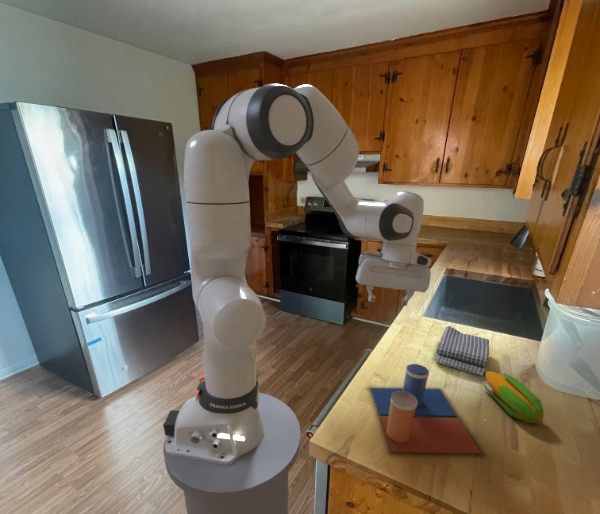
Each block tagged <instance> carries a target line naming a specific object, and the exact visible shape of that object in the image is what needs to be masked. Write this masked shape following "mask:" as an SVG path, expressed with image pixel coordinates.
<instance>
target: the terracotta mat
mask: <svg viewBox="0 0 600 514" xmlns="http://www.w3.org/2000/svg"><path fill="white" fill-rule="evenodd" d="M380 422H381V425H382V427H383V431H384V434H385V438H386V440H387V443H388V447H389V448H390V452H391V453H393V454H394V453H396V454H397V453H398V454H400V453H401V454H448V455H449V454H452V455H453V454H455V455H459V454H460V455H481V454H482V453H481V451H480V449H479V448H478V446H477V445H476V443H475V442H474V440H473V439H472V437H471V436H470V434H469V432H468V431H467V430H466V428H465V426H464V425H463V423H462V422H461V420H460V419H459V418H453V417H450V418H446V417H443V418H442V417H414V421H413V426H412V431H411V437H410V439H409V440H408V441H406V442H396V441H394V440H392V439H391V438H390V437H389V436H388V435H387V433H386V429H387V422H388V417H387V416H380Z"/></svg>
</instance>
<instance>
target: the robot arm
mask: <svg viewBox="0 0 600 514" xmlns="http://www.w3.org/2000/svg"><path fill="white" fill-rule="evenodd" d="M294 154H296V155H297V157H298V158H299V159H300V160H301V162H302V163H303V164H304V165H305V166H306V168H307V169H308V171H309V172H310V173H311V178H312V181H313V183H314V185H315V186H316V188H317V190H318V191H319V193H320V194H321V195H322V197H323V198H324V200H325V201H326V202H327V204H328V205H329V207H330V208H331V210H332V211H333V212H334V214H335V216H336V219H337V221H338V224H339V227H340V229H341V231H342V233H343V234H344V235H345V236H347V237H348V238H356V239H359V238H360V239H367V240H368V239H369V240H373V241H379V242H380V241H381V242H382V248H381V252H378V251H370V250H365V251H364V252H361V254H359V257H358V268H357V271H356V275H355V281H356V283H357V284H358V285H361V286H362V285H363V286H366V290H367V294H368V299H367V301H368V302H371V303H375V302H376V299H377V297H376V296H377V295H375V294H373V290H374V288H375V287H378V288H385V289H394V290H400V291H405V294H406V295H405V296H404V298H400V302H399V305H400V306H404V307H407V306H408V303H409V301H410V300H411V298H412V297H413V296H414V294H415V292H417V293H418V292H419V293H426V292H427V291H428V290H429V287H430V282H431V275H432V274H431V273H432V272H431V269H430V268H429V267H431V265H432V259H431V258H430V257H428V256H426V255H424V254H422V253H420V252H418V251H416V250H417V244H418V243H417V239H418V235H419V233H420V231H421V228H422V222H423V218H424V210H425V209H424V207H425V205H424V204H425V203H424V199H423V197H422V196H421V195H419V194H418V193H414V192H412V191H411V192H410V191H406V190H405V191H403V190H402V191H398V192H396V193H395V195H394V196H393V197H391V198H388V199H386V200H385V199H384V200H378V201H377V200H366V199H365V200H364V199H360V198H358V197H355V196H354V195H353V194H352V192H351V191H350V189H349V187H348V186H347V184H346V182H345V181H346V179H348V177H349V176H350V175H351V174H352V172H354V170H355V168H356V166H357V163H358V161H359V156H360V146H359V142H358V140H357V137H356V136H355V134H354V133H353V131H352V129H351V127H350V126H349V125H348V123H347V121H345V119H344V117H343V116H342V115H341V113H340V112H339V111H338V109H337V108H336V107H335V106H334V105H333V103H331V101H330V100H329V98H327V96H325V94H323V92H321V91H320V90H319V89H318V88H317V87H315V86H313V85H311V84H302V85H298V86H295V88H292V87H290V86H288V85H284V84H280V83H268V84H264V85H262V86H260V87H254V88H252V87H251V88H247V89H244V90H242V91H241V90H240V91H239V92H238V93H236V94H234V95H233V96H229V97H228V98H226V99H224V101H222V102H221V103H220V105H219V106H218V107H217V109H216V111H215V113H214V116H213V119H212V121H211V124H210V126H209V129H205V130H201V131H199V132H197V133H195V134H193V135H192V136H190V137H189V138H188V140H187V142H186V144H185V149H184V159H183V161H184V162H183V164H184V165H183V187H184V188H183V190H184V201H185V210H186V219H187V229H188V236H189V237H188V238H189V246H190V279H191V291H192V299H193V302H194V304H195V307H196V309H197V311H198V314H199V317H200V321H201V324H202V331H203V332H202V333H203V352H202V354H201V355H202V357H201V358H202V366H203V373H201V375H200V378H199V379H198V381H199V383H198V384H197V387H196V392H195V395H193V396H192V397H190V398H188V399H187V400H186V401H185V402H184V403H183V405H182V406H181V408H180V409H179V410H169V413H168V415H167V417H166V418H165V421H164V422H163V425H162V427H163V430H164V435H165V437H166V439H165V438H164V441H165V450H166V453H167V454H168V455H173V456H178V457H183V458H189V459H194V460H199V461H205V462H210V463H215V464H221V465H230V464H232V463H233V462H234V461H235V460H236V459H237V458H238V457H239V456H241V455H243V454H245V453H247V452H249V451H251V450H252V449H254V448H255V447H256V446H257V445H258V444H259V443H260V442H261V441H262V439H263V437H264V433H265V427H264V424H263V422H262V419H261V416H260V412H259V407H258V403H259V393H260V386H259V379H258V377H257V359H256V355H257V354H256V353H257V347H258V341H259V338H260V337H261V336H262V334H263V333H264V331H265V329H266V324H267V316H266V312H265V310H264V306H263V303H262V301H261V299H260V297H259V295H257V294H256V292H255V291H254V290H253V289H252V288H251V287H250V286H249V285H248V282H247V278H246V277H247V276H246V267H247V259H248V254H249V250H250V248H251V246H252V227H251V204H250V203H251V202H250V200H251V199H250V189H249V188H250V187H249V180H250V174H251V170H252V166H253V164H254V163H255V161H257V162H262V161H271V160H283V159H286V158H288V157H291V156H292V155H294ZM221 458H223V459H221Z"/></svg>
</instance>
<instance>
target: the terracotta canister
mask: <svg viewBox="0 0 600 514" xmlns="http://www.w3.org/2000/svg"><path fill="white" fill-rule="evenodd" d="M417 403H418V401H417V399H416V398H415V397H414V396H413V395H412V394H410V393H407V392H402V391H399V392H395V393H393V394H392V395H391V403H390V410H389V415H387V416H388V422H387V429H386V433H387V435H388V436H389V437H390V438H391V439H392V440H394V441H396V442H406V441H408V440H409V439H410V437H411V431H412V426H413V421H414V418H415V417H416V416H415V411H416V407H417Z"/></svg>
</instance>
